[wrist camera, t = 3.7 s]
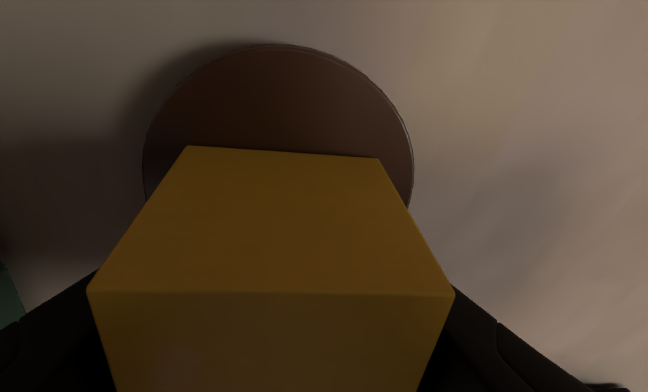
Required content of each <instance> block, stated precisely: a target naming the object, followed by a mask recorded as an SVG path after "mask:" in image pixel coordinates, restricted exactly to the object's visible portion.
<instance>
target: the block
mask: <svg viewBox="0 0 648 392" xmlns="http://www.w3.org/2000/svg"><path fill="white" fill-rule="evenodd" d="M86 294H87V297H88V301H89V304H90V307H91V310H92V314H93V317H94V320H95V323H96V327H97V330H98V333H99V336H100V340H101V343H102V346H103V349H104V353H105V356H106V359H107V362H108V366H109V369H110V372H111V375H112V379H113V382H114V385H115V388H116V392H417V389H418V387H419V384H420V382H421V379H422V377H423V374H424V372H425V370H426V367H427V365H428V362H429V360H430V357H431V355H432V353H433V350H434V348H435V345H436V343H437V340H438V338H439V335H440V333H441V331H442V328H443V326H444V323H445V321H446V318H447V316H448V314H449V311H450V309H451V306H452V304H453V301H454V299H455V291H454V290H453V288H452V286H451V284H450V283H449V281H448V279H447V278H446V276H445V274H444V272H443V271H442V269H441V267H440V265H439V264H438V262H437V260H436V258H435V257H434V255H433V253H432V251H431V250H430V248H429V246H428V245H427V243H426V241H425V239H424V238H423V236H422V234H421V232H420V231H419V229H418V227H417V225H416V224H415V222H414V220H413V218H412V217H411V215H410V213H409V211H408V210H407V208H406V206H405V205H404V203H403V201H402V199H401V198H400V196H399V194H398V192H397V191H396V189H395V187H394V185H393V184H392V182H391V180H390V178H389V177H388V175H387V173H386V172H385V170H384V168H383V166H382V165H381V163H380V161H379V159H377V158H364V157H349V156H335V155H321V154H306V153H292V152H278V151H263V150H249V149H235V148H220V147H206V146H192V145H188V146H186V147H185V149H184V150H183V151H182V153H181V154H180V156H179V157H178V158H177V160H176V161H175V163H174V164H173V166H172V167H171V168H170V170H169V171H168V173H167V174H166V175H165V177H164V178H163V180H162V181H161V182H160V184H159V185H158V187H157V188H156V189H155V191H154V192H153V194H152V195H151V197H150V198H149V199H148V201H147V202H146V204H145V205H144V206H143V208H142V209H141V211H140V212H139V213H138V215H137V216H136V218H135V219H134V221H133V222H132V223H131V225H130V226H129V228H128V229H127V230H126V232H125V233H124V235H123V236H122V237H121V239H120V240H119V242H118V243H117V245H116V246H115V247H114V249H113V250H112V252H111V253H110V254H109V256H108V257H107V259H106V260H105V261H104V263H103V264H102V266H101V267H100V268H99V270H98V271H97V273H96V274H95V276H94V277H93V278H92V280H91V281H90V283H89V284H88V285H87V288H86Z"/></svg>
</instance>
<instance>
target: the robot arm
mask: <svg viewBox="0 0 648 392" xmlns="http://www.w3.org/2000/svg"><path fill="white" fill-rule="evenodd" d="M98 270H99V269H97V270H95V271H94V272H92V273H91V274H89V275H87V276H86V277H84V278H83V279H81V280H80V281H78V282H76V283H75V284H73V285H72V286H70V287H68V288H67V289H65V290H64V291H62V292H60V293H59V294H57V295H56V296H54V297H52V298H51V299H49V300H48V301H46V302H44V303H43V304H41V305H40V306H38V307H37V308H35V309H33V310H32V311H30V312H29V313H27V314H25V315H24V316H22V317H21V318H20V319H19V322H18V321H14V322H12V323H11V324H9V325H8V326H6V327H4V328H3V329H1V330H0V392H116V388H115V385H114V382H113V379H112V375H111V372H110V369H109V366H108V362H107V359H106V356H105V353H104V349H103V346H102V343H101V340H100V336H99V333H98V330H97V327H96V323H95V320H94V317H93V314H92V310H91V307H90V304H89V301H88V297H87V294H86V288H87V285H88V284H89V283H90V281H91V280H92V278H93V277H94V276H95V274H96V273H97V271H98ZM451 286H452V288H453V290H454V291H455V299H454V301H453V304H452V306H451V309H450V311H449V314H448V316H447V318H446V321H445V323H444V326H443V328H442V331H441V333H440V335H439V338H438V340H437V343H436V345H435V348H434V350H433V353H432V355H431V357H430V360H429V362H428V365H427V367H426V370H425V372H424V374H423V377H422V379H421V382H420V384H419V387H418V389H417V392H630V391H629V390H628V389H627V388H597V389H591V388H589V387H588V386H586V385H585V384H583V383H582V382H580V381H579V380H577V379H576V378H575V377H573V376H572V375H570V374H569V373H567V372H566V371H565V370H563V369H562V368H560V367H559V366H557V365H556V364H555V363H553V362H552V361H550V360H549V359H548V358H546V357H545V356H543V355H542V354H541V353H539V352H538V351H537V350H535V349H534V348H533V347H531V346H530V345H529V344H527V343H526V342H525V341H523V340H522V339H521V338H519V337H518V336H517V335H515V334H514V333H513V332H512V331H510V330H509V329H508V328H506V327H505V326H504V325H503V324H501V323H497V320H496V319H495V318H494V317H492V316H491V315H490V314H488V313H487V312H486V311H485V310H483V309H482V308H481V307H479V306H478V305H477V304H476V303H474V302H473V301H472V300H471V299H469V298H468V297H467V296H465V295H464V294H463V293H462V292H460V291H459V290H458V289H457V288H455V287H454V286H453V285H451Z"/></svg>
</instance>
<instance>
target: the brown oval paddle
mask: <svg viewBox="0 0 648 392" xmlns="http://www.w3.org/2000/svg"><path fill="white" fill-rule="evenodd" d="M188 145H192V146H206V147H220V148H235V149H249V150H263V151H278V152H292V153H306V154H321V155H335V156H349V157H364V158H377V159H379V161H380V163H381V165H382V166H383V168H384V170H385V172H386V173H387V175H388V177H389V178H390V180H391V182H392V184H393V185H394V187H395V189H396V191H397V192H398V194H399V196H400V198H401V199H402V201H403V203H404V205H405V206H406V208H407V210H408V206H409V202H410V199H411V193H412V188H413V183H414V158H413V150H412V146H411V142H410V138H409V135H408V132H407V130H406V127H405V125H404V122H403V120H402V118H401V117H400V115H399V113H398V112H397V110H396V108H395V106H394V105H393V104H392V102H391V101H390V100H389V99H388V97H387V96H386V95H385V94H384V93H383V91H382V90H381V89H380V88H378V87H377V86H376V85H375V84H374V83H373V82H372V81H371V80H370V79H369V78H368V77H367V76H366V75H364V74H363V73H362V72H360V71H359V70H357V69H356V68H354V67H353V66H351V65H350V64H348V63H346V62H344V61H342V60H340V59H338V58H336V57H334V56H332V55H330V54H327V53H324V52H321V51H318V50H315V49H311V48H306V47H300V46H295V45H278V44H270V45H260V46H251V47H247V48H243V49H239V50H235V51H232V52H229V53H227V54H224V55H222V56H219V57H217V58H215V59H213V60H211V61H209V62H208V63H206V64H204V65H203V66H201V67H199V68H198V69H196V70H195V71H193V72H192V73H191V74H190V75H188V76H187V77H186V78H185V79H184V80H182V81H181V82H180V83H179V84H178V85H176V87H175V88H174V89H173V90H172V91H171V92H170V94H169V95H168V96H167V97H166V98H165V99H164V101H163V102H162V104H161V105H160V107H159V109H158V110H157V112H156V113H155V115H154V117H153V119H152V122H151V124H150V127H149V129H148V131H147V135H146V139H145V143H144V147H143V156H142V175H143V185H144V191H145V197H146V202H147V201H148V199H149V198H150V197H151V195H152V194H153V192H154V191H155V189H156V188H157V187H158V185H159V184H160V182H161V181H162V180H163V178H164V177H165V175H166V174H167V173H168V171H169V170H170V168H171V167H172V166H173V164H174V163H175V161H176V160H177V158H178V157H179V156H180V154H181V153H182V151H183V150H184V149H185V147H186V146H188Z"/></svg>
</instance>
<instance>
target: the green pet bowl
mask: <svg viewBox="0 0 648 392" xmlns="http://www.w3.org/2000/svg"><path fill="white" fill-rule="evenodd" d="M4 266H5V264H4V263H3V262H2V261H1V260H0V330H1V329H3V328H4V327H6V326H8V325H9V324H11V323H12V322H14V321H18V322H19V319H20V318H21V317H22V316H24V315H25V314H26V311H25V309H24V307H23V305H22V302H21V300H20V298H19V296H18V293H17V291H16V289H15V286H14V284H13V282H12V280H11V277H10V275H9V273H8V271H7V268H6V267H4Z"/></svg>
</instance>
